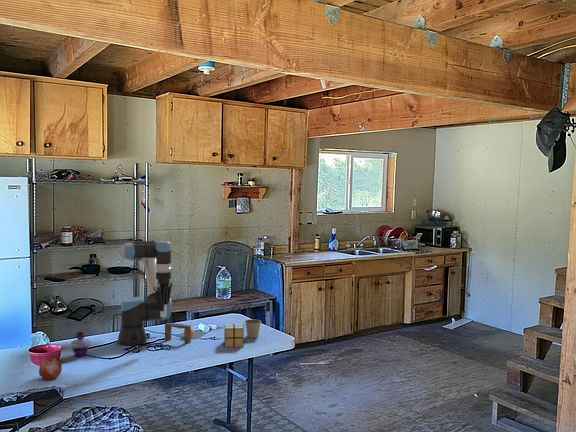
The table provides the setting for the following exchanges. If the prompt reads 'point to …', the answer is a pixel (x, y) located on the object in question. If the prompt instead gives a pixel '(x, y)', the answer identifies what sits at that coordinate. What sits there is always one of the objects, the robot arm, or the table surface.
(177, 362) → the table surface
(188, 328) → the bridge
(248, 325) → the flower pot
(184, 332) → the ball
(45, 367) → the fruit
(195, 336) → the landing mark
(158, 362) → the table surface
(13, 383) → the table surface
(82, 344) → the potion bottle
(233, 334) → the puzzle cube
